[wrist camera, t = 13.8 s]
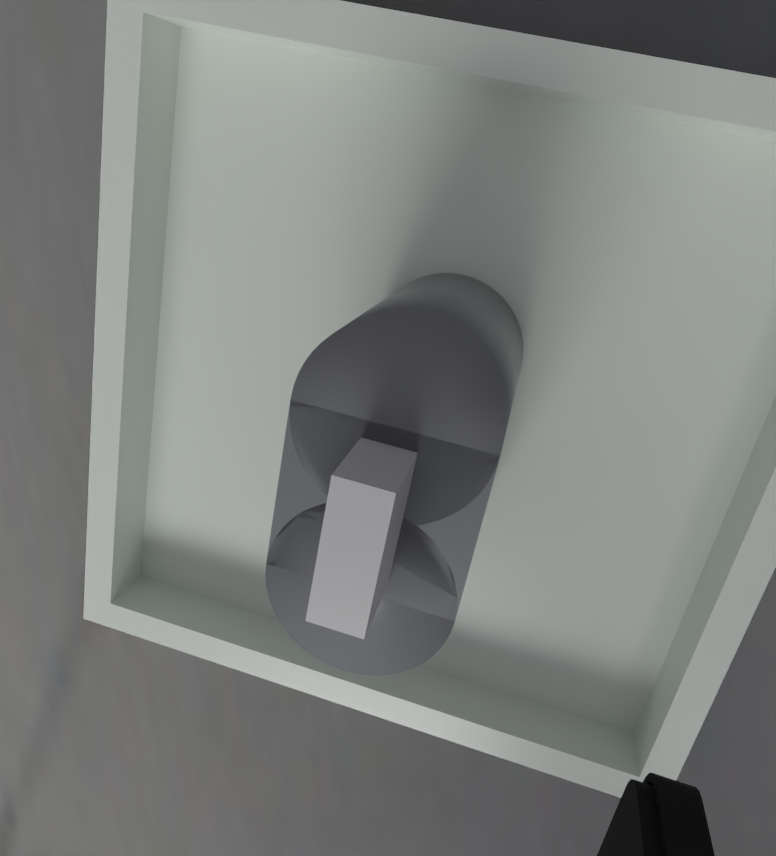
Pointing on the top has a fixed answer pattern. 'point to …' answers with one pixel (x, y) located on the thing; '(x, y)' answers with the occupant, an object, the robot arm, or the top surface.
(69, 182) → the top surface
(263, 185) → the tray
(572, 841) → the top surface
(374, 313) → the plug
